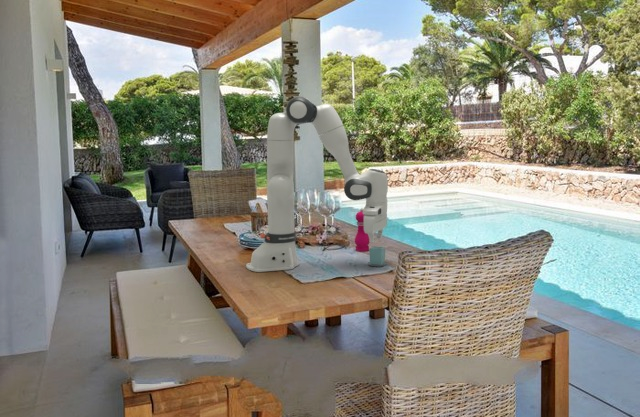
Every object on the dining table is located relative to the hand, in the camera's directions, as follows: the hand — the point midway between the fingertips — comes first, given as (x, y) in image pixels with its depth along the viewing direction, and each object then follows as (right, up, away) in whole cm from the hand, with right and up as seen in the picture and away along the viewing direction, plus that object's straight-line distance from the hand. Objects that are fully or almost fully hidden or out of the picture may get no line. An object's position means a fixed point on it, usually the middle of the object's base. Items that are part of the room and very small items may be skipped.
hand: (375, 240), depth 248 cm
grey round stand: (+1, -10, +1) cm, 10 cm away
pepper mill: (-3, -6, +30) cm, 31 cm away
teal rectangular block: (+1, -10, +1) cm, 10 cm away
